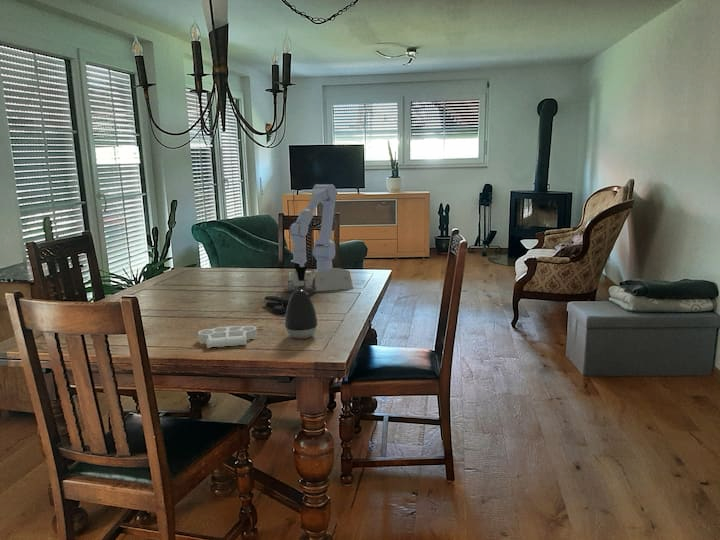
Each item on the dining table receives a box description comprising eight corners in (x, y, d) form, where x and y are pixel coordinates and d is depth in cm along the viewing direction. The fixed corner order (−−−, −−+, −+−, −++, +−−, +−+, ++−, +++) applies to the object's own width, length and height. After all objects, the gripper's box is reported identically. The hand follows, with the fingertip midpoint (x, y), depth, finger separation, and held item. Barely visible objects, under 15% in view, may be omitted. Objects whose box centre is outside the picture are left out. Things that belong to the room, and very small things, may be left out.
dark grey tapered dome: (322, 338, 170) (320, 291, 167) (289, 343, 167) (287, 295, 164) (313, 329, 179) (311, 284, 177) (282, 333, 176) (280, 288, 173)
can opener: (296, 312, 202) (295, 297, 201) (279, 316, 198) (278, 301, 197) (275, 303, 216) (274, 289, 215) (259, 306, 212) (258, 292, 211)
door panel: (289, 285, 246) (289, 272, 245) (311, 283, 248) (311, 270, 247) (290, 286, 243) (289, 273, 242) (312, 285, 245) (312, 272, 244)
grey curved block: (315, 291, 233) (313, 268, 235) (314, 292, 238) (312, 270, 240) (353, 288, 236) (351, 266, 238) (352, 290, 241) (350, 267, 242)
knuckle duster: (196, 352, 162) (200, 337, 176) (257, 346, 166) (256, 332, 180) (195, 341, 162) (199, 327, 176) (256, 336, 165) (256, 322, 179)
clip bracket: (285, 289, 239) (285, 280, 238) (310, 287, 241) (310, 278, 241) (287, 292, 232) (286, 283, 231) (312, 290, 235) (312, 281, 234)
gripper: (288, 248, 249) (290, 277, 251) (292, 253, 235) (293, 283, 238) (304, 247, 250) (305, 276, 253) (308, 252, 236) (309, 282, 239)
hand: (300, 280), depth 245 cm, fingers closed on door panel, 2 cm apart
